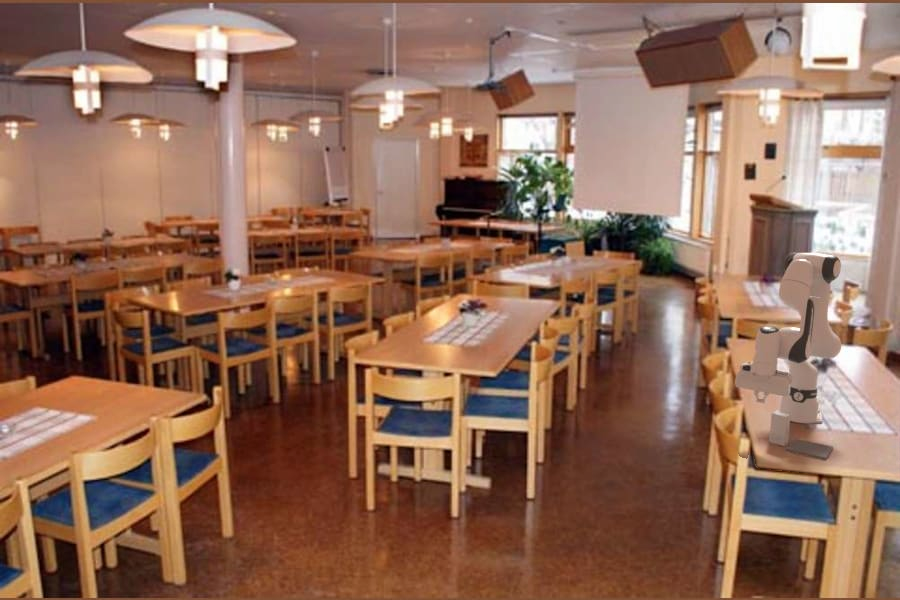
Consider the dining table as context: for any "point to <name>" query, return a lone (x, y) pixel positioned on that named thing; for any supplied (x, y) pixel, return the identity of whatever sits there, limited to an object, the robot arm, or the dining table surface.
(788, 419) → the skincare box
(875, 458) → the dining table surface
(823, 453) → the rubber mat
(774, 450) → the dining table surface
